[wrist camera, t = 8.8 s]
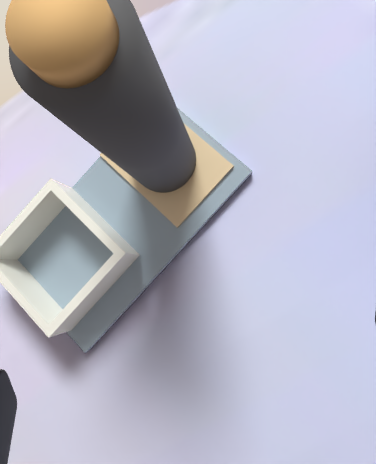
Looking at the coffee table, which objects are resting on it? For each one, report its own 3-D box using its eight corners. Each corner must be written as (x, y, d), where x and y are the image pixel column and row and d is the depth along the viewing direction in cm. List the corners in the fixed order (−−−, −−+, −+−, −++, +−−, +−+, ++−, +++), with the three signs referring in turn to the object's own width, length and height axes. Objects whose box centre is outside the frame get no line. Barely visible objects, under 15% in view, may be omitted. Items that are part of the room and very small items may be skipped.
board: (252, 173, 22) (251, 157, 19) (88, 351, 22) (63, 363, 20) (159, 95, 23) (146, 70, 21) (9, 263, 24) (-24, 262, 21)
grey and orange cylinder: (209, 156, 22) (160, 0, 9) (165, 206, 22) (55, 122, 9) (162, 116, 22) (53, -82, 10) (119, 164, 23) (-43, 33, 10)
